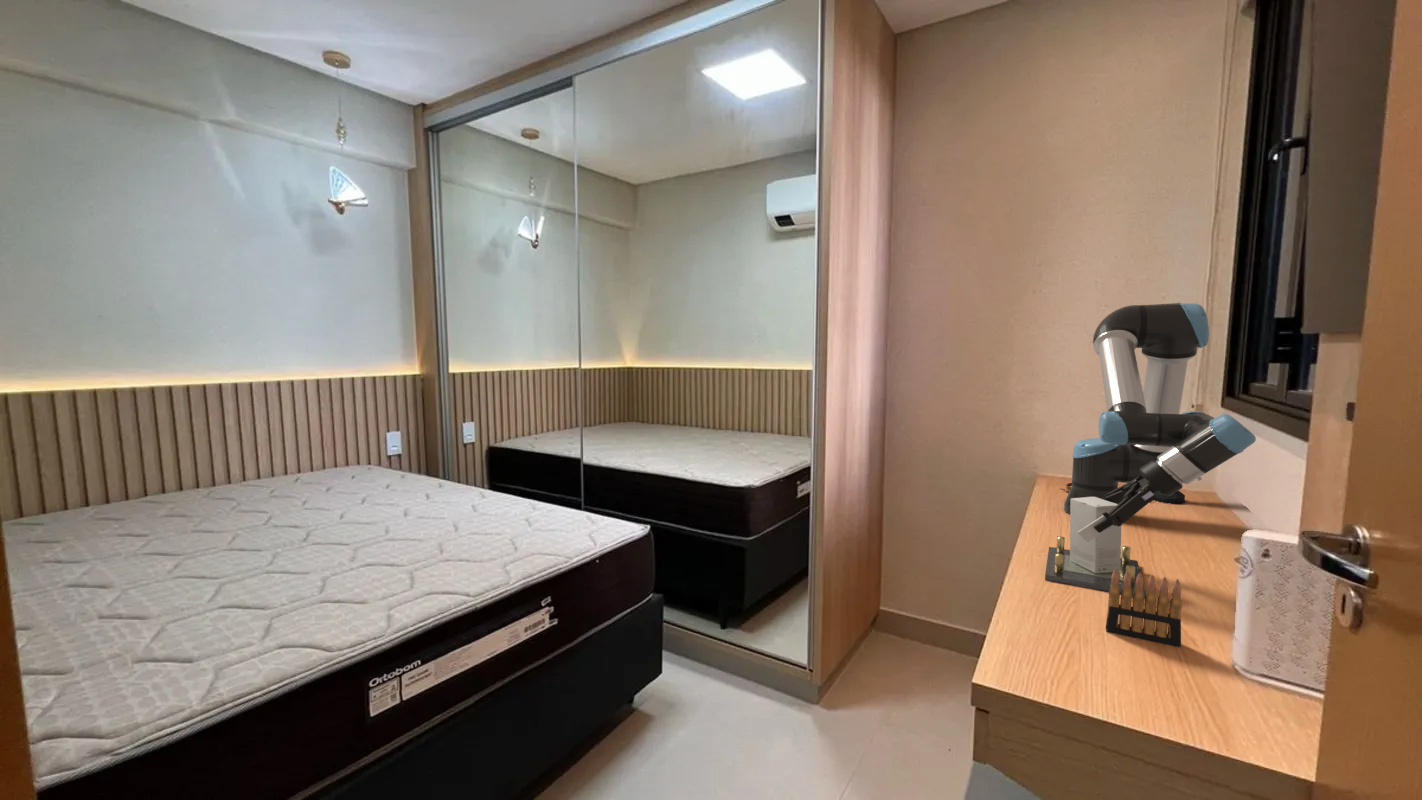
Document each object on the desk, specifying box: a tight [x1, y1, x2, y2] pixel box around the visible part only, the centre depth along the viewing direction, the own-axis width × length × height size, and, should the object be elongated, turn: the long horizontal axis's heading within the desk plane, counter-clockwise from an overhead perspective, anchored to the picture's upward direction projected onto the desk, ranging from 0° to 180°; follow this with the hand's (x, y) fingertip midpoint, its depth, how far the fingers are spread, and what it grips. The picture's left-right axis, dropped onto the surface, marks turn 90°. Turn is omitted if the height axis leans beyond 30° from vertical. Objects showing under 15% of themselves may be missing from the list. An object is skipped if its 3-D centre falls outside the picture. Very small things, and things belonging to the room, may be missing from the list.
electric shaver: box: [1154, 490, 1186, 505], centre depth 182 cm, size 9×12×20 cm
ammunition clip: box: [1105, 569, 1183, 648], centre depth 100 cm, size 11×2×12 cm, turn 58°
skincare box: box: [1069, 497, 1122, 573], centre depth 128 cm, size 8×7×16 cm
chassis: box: [1044, 535, 1147, 599], centre depth 128 cm, size 20×18×5 cm
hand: (1082, 528), depth 129 cm, fingers open, 13 cm apart
